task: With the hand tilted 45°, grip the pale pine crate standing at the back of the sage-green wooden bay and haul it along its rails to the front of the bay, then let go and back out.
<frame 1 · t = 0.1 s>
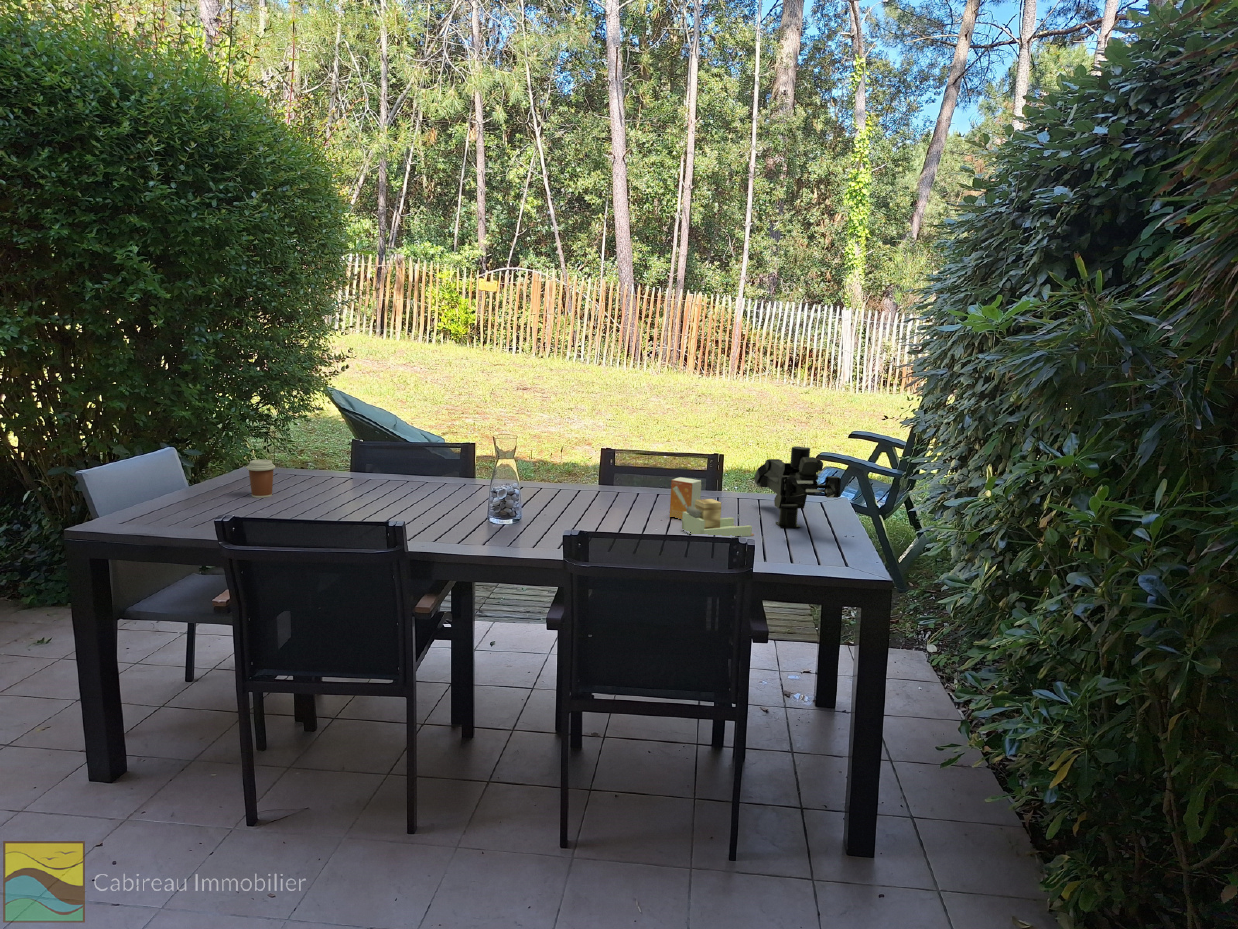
hand: (819, 492, 258), 17 cm above the table, tool horizontal, fingers open, 9 cm apart
bay: (716, 533, 274), on the table
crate: (707, 516, 271), point 6 cm above the table, slide at 0.0 cm
small box: (684, 519, 291), on the table
coffee cup: (262, 496, 301), on the table
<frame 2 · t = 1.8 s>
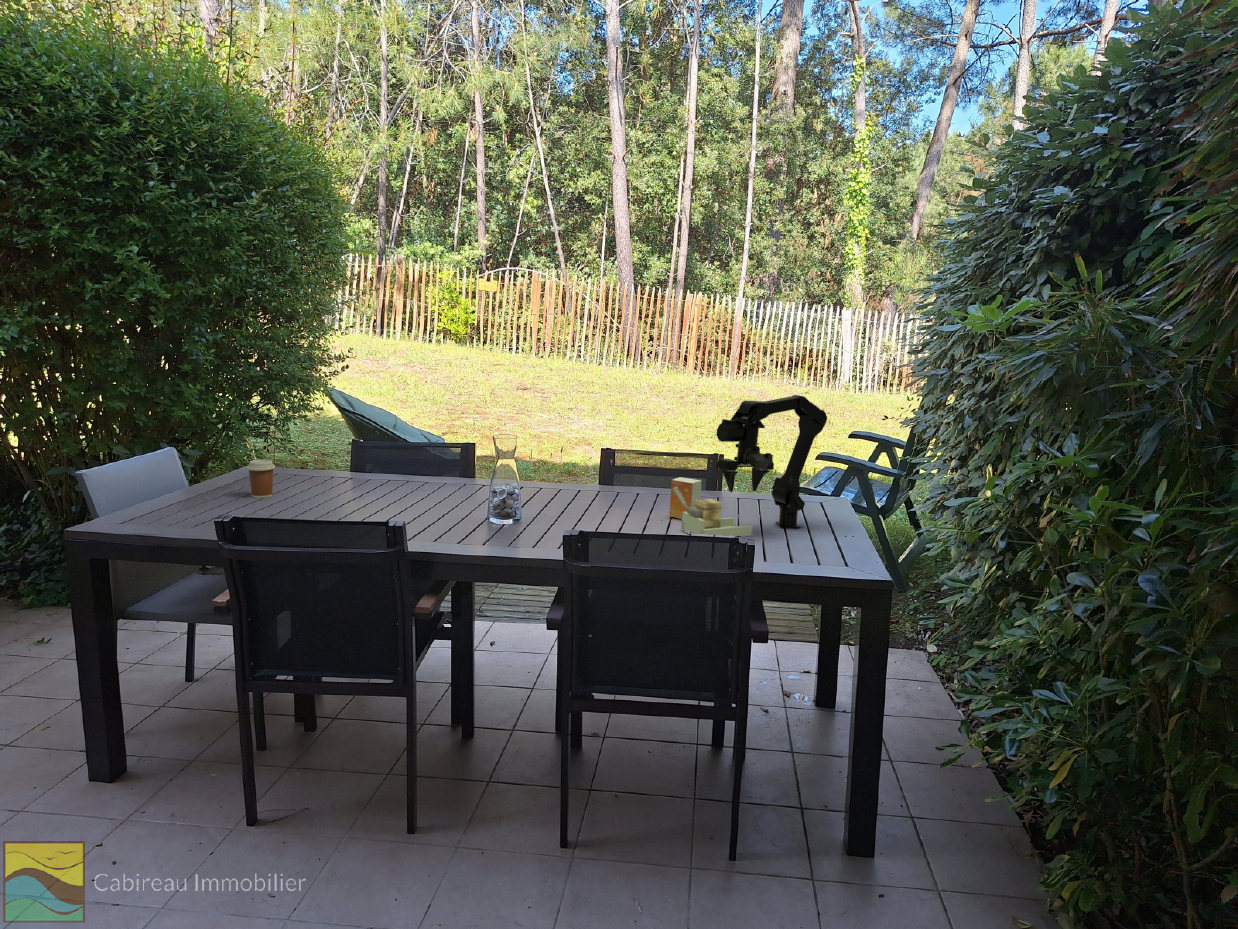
hand: (742, 491, 275), 13 cm above the table, tool pointing down, fingers open, 9 cm apart
nothing on the table moved.
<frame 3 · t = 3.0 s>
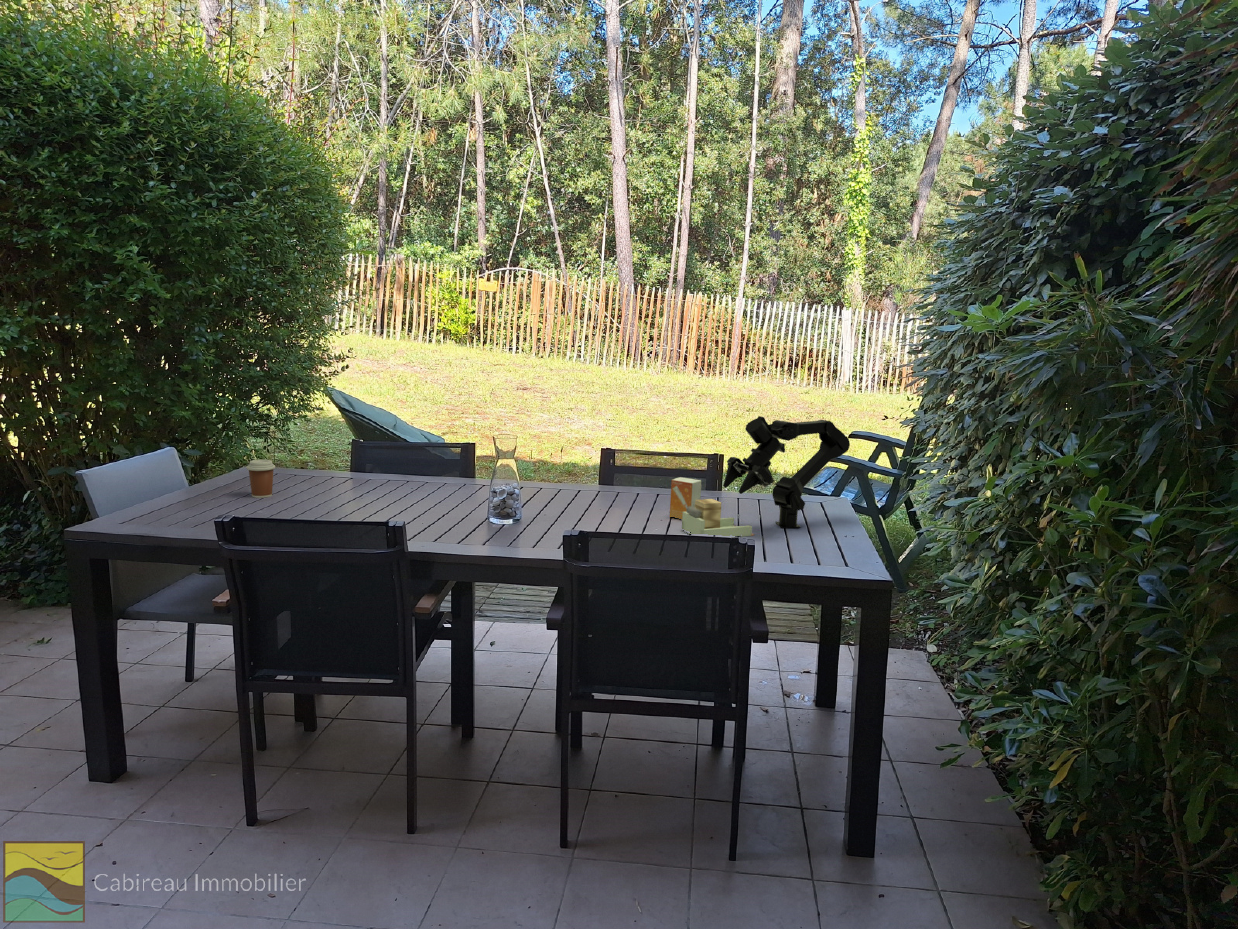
hand: (731, 490, 273), 13 cm above the table, tool tilted 45°, fingers open, 9 cm apart
nothing on the table moved.
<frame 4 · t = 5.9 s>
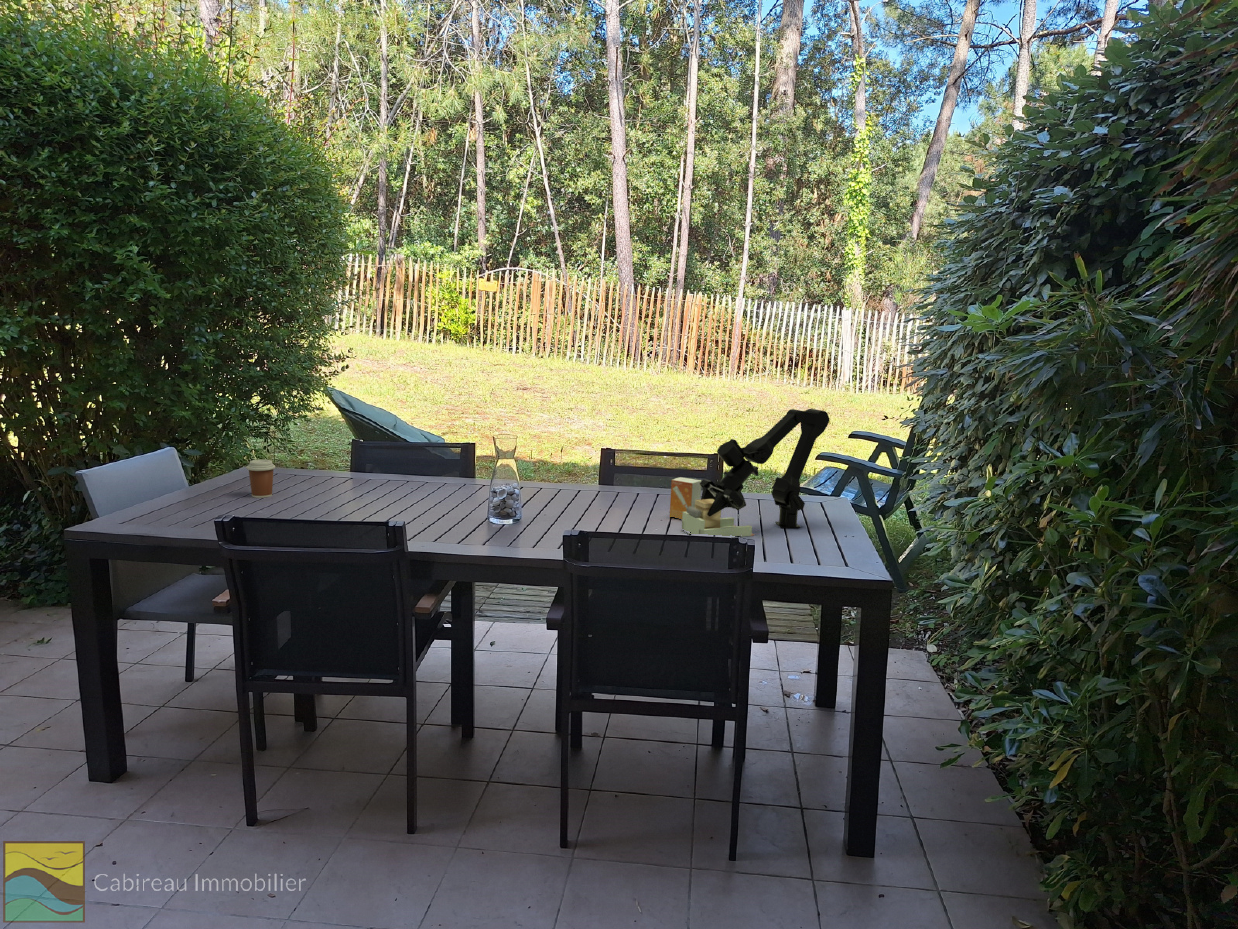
hand: (703, 513, 270), 7 cm above the table, tool tilted 45°, fingers closed on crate, 6 cm apart
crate: (707, 516, 271), point 6 cm above the table, slide at 0.0 cm, touching gripper
everything else where it was.
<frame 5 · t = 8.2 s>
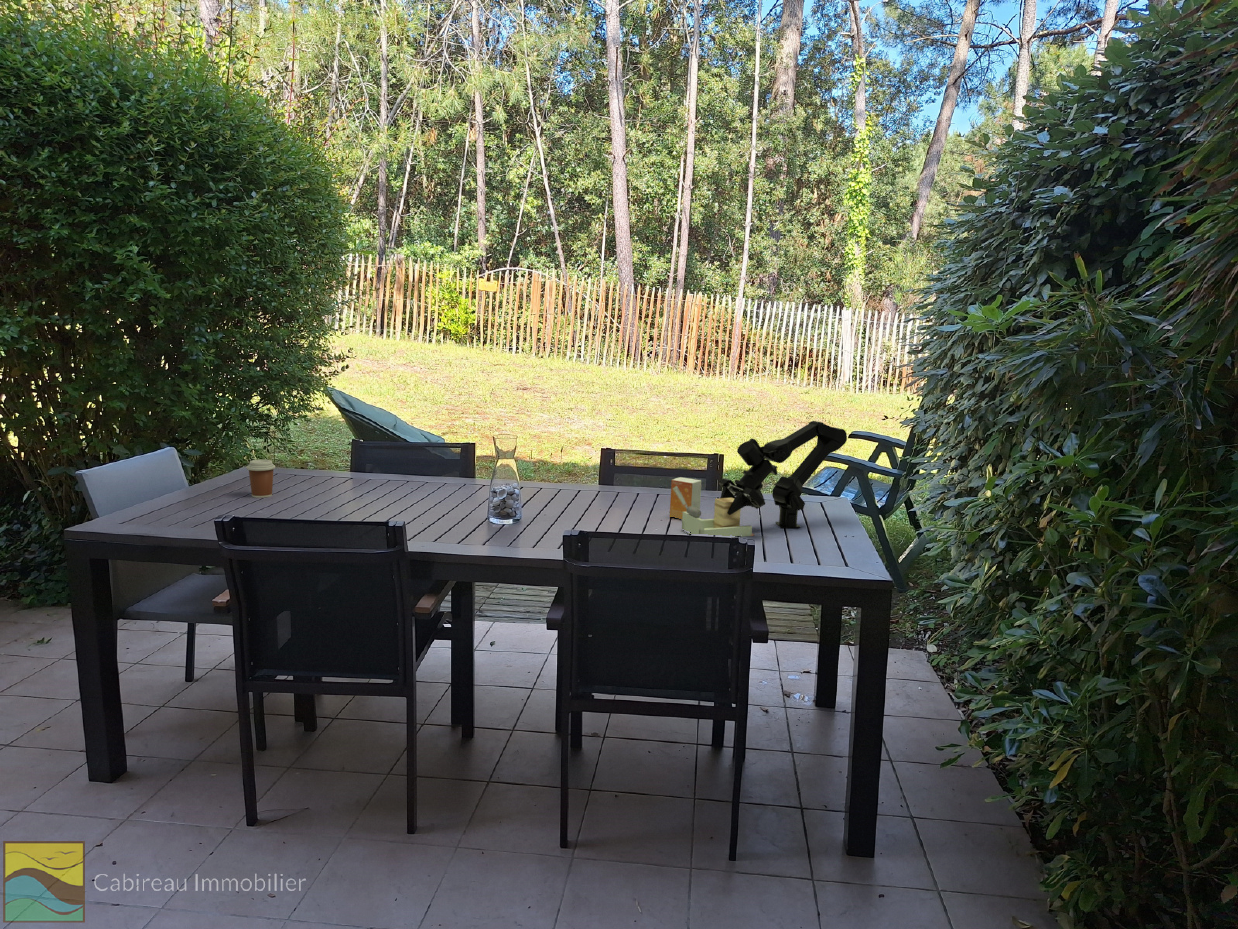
hand: (723, 512, 273), 7 cm above the table, tool tilted 45°, fingers closed on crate, 6 cm apart
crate: (727, 515, 274), point 6 cm above the table, slide at 7.0 cm, touching gripper
everything else where it was.
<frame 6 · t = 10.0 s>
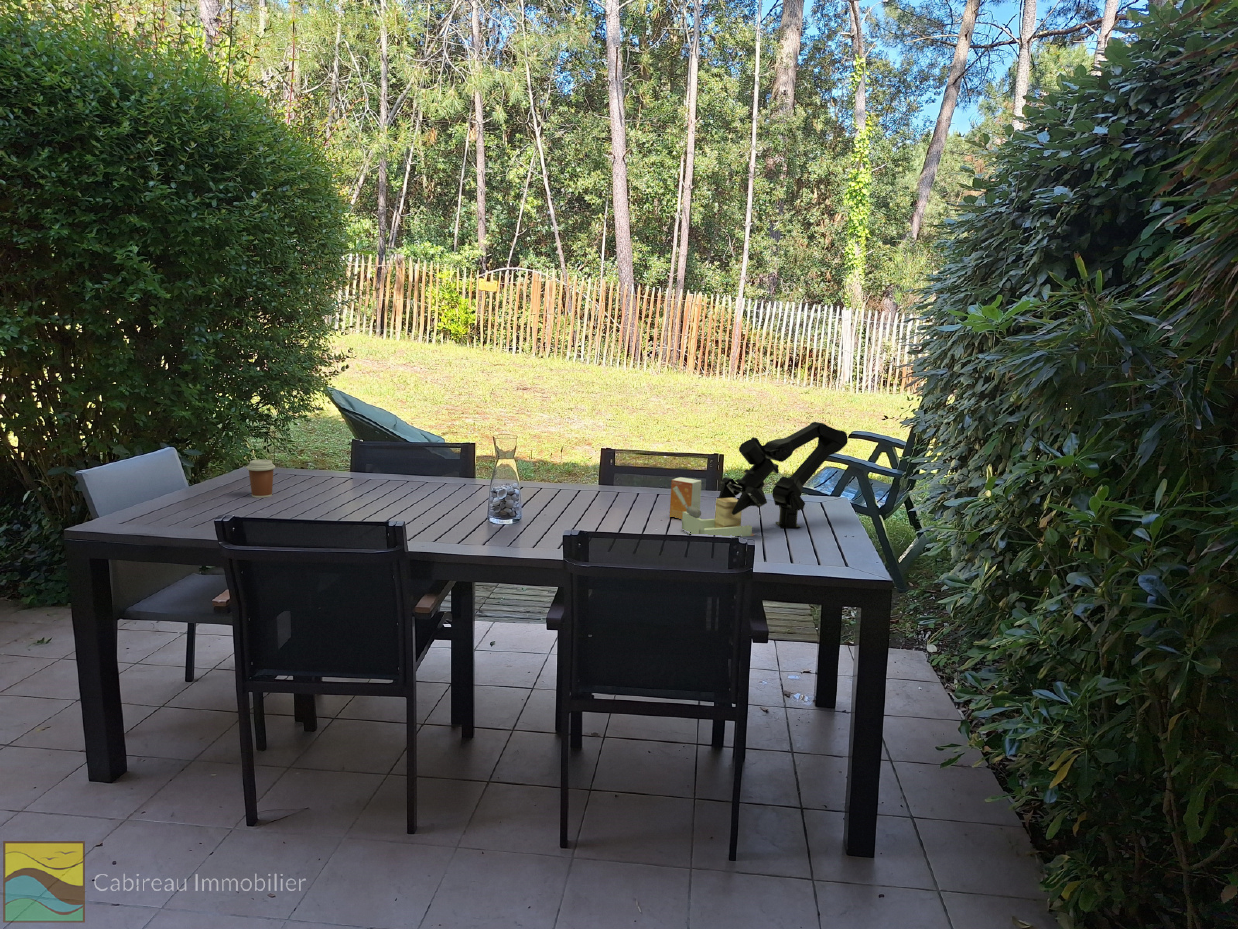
hand: (725, 510, 273), 7 cm above the table, tool tilted 45°, fingers open, 9 cm apart
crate: (728, 514, 274), point 6 cm above the table, slide at 7.4 cm
everything else where it was.
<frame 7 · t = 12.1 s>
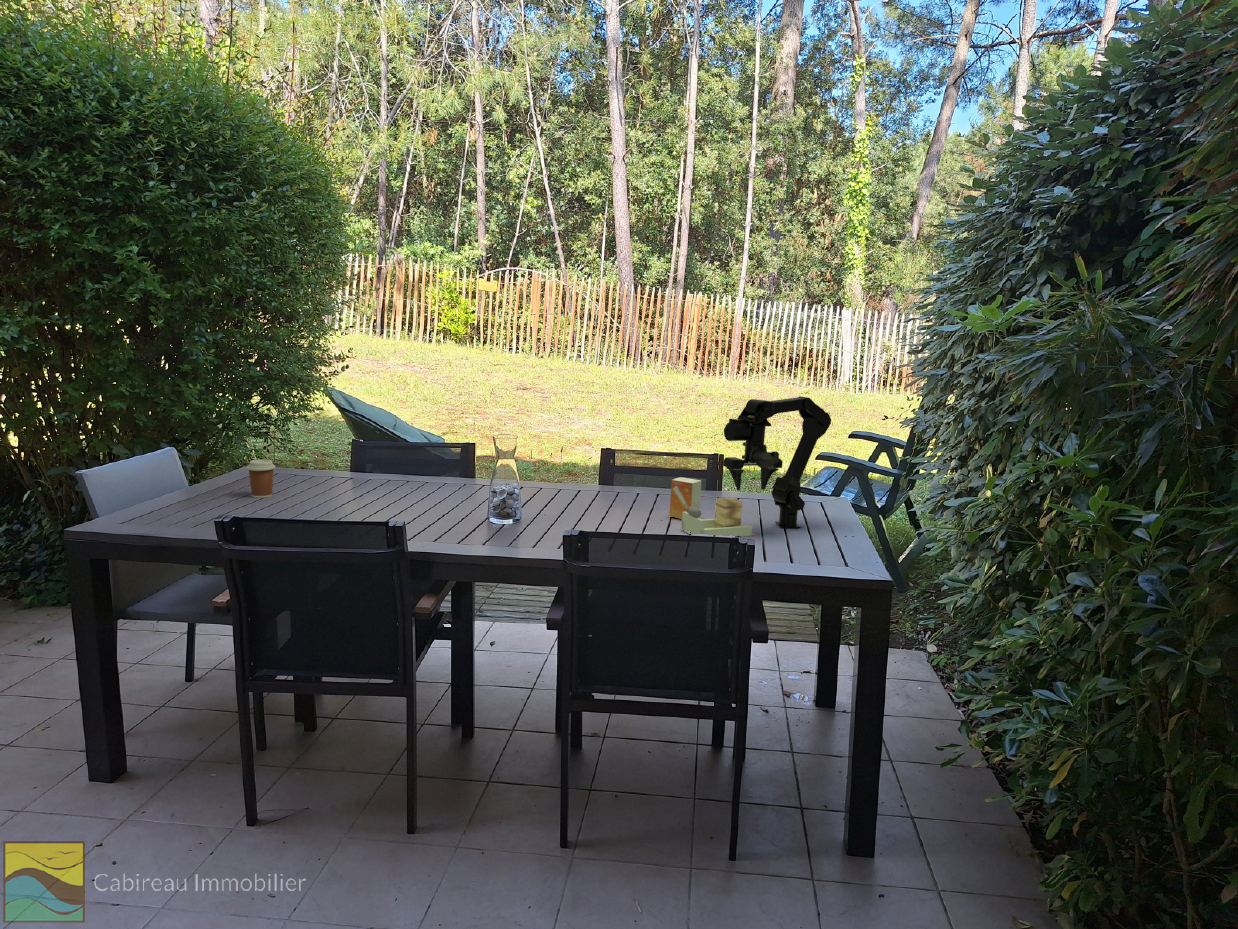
hand: (750, 489, 276), 13 cm above the table, tool pointing down, fingers open, 9 cm apart
nothing on the table moved.
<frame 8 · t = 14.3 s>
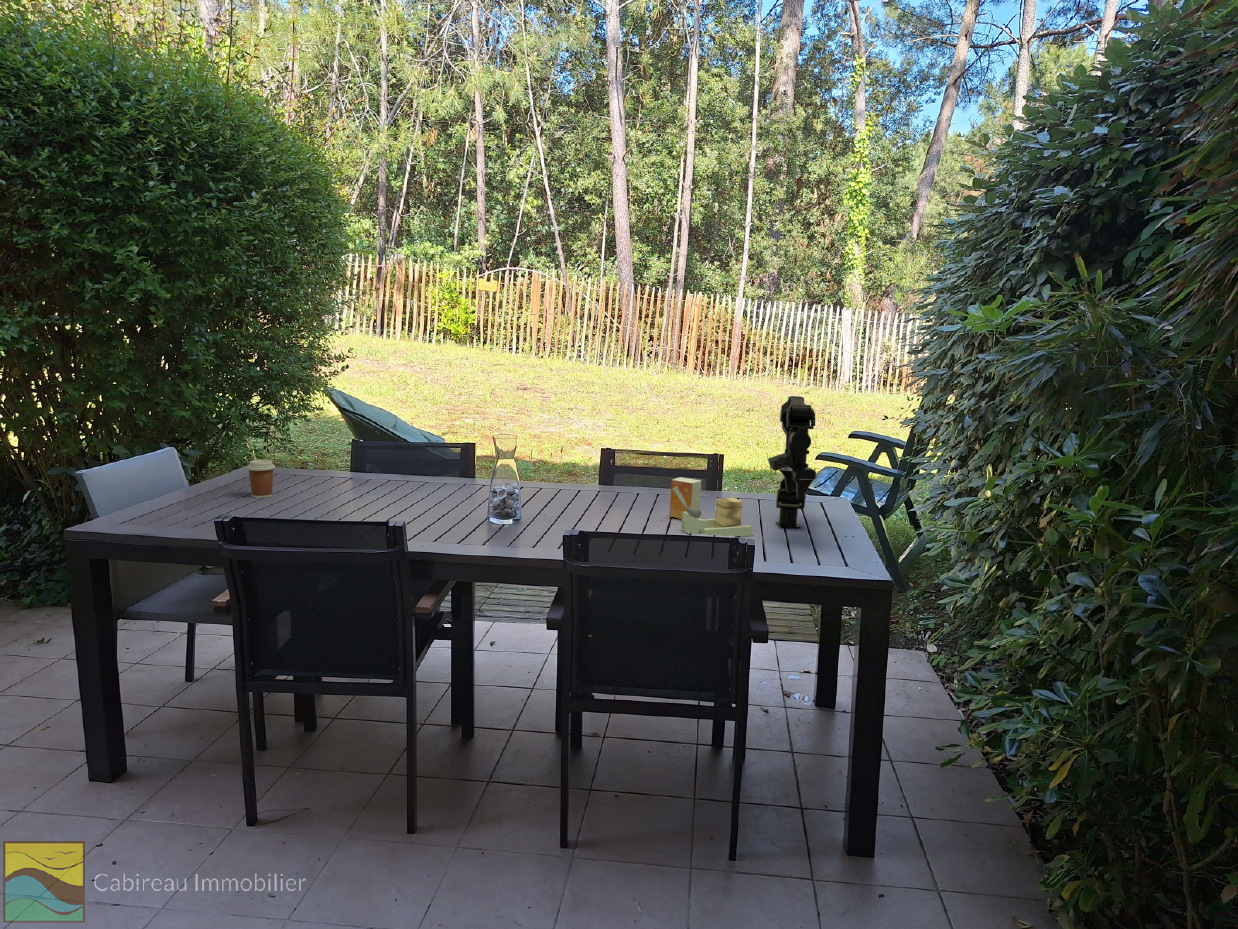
hand: (794, 496, 269), 13 cm above the table, tool pointing down, fingers open, 9 cm apart
nothing on the table moved.
at the end: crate slide at 7.4 cm; the gripper is holding nothing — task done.
